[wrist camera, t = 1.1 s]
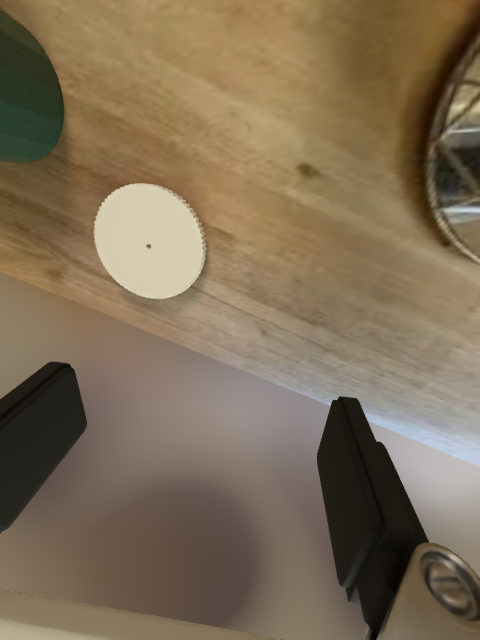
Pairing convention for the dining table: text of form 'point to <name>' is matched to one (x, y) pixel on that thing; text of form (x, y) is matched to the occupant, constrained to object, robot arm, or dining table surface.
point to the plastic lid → (150, 240)
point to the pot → (26, 96)
